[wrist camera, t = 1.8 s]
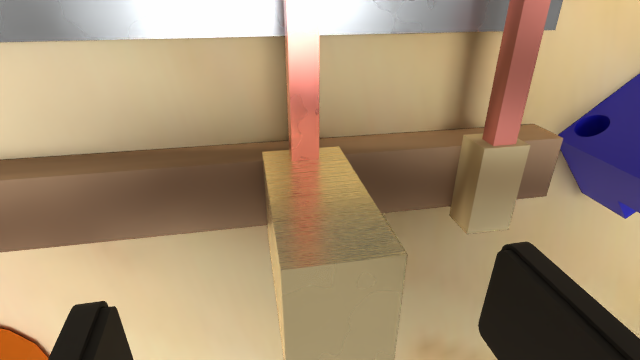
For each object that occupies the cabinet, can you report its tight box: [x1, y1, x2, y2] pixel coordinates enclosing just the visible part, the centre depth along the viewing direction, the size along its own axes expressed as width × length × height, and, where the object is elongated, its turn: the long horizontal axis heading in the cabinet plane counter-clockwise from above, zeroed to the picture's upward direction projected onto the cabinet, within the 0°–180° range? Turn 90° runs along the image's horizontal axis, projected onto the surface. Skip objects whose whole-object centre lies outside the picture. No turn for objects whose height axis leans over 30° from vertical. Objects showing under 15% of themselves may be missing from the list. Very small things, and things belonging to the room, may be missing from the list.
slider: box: [262, 0, 407, 360], centre depth 12 cm, size 10×3×7 cm, turn 0°
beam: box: [0, 0, 563, 252], centre depth 15 cm, size 10×24×4 cm, turn 90°
